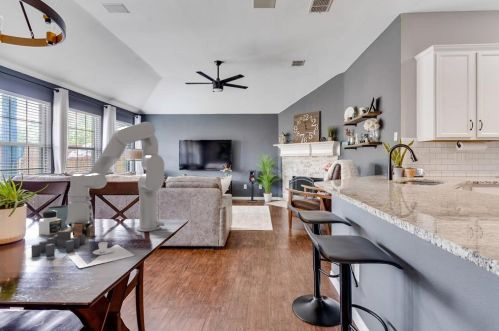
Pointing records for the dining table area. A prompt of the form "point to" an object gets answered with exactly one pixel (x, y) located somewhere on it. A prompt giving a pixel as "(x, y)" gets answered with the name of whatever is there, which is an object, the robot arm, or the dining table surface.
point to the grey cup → (60, 213)
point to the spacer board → (51, 251)
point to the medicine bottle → (49, 223)
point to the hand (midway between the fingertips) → (80, 236)
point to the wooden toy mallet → (66, 234)
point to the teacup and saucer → (102, 255)
